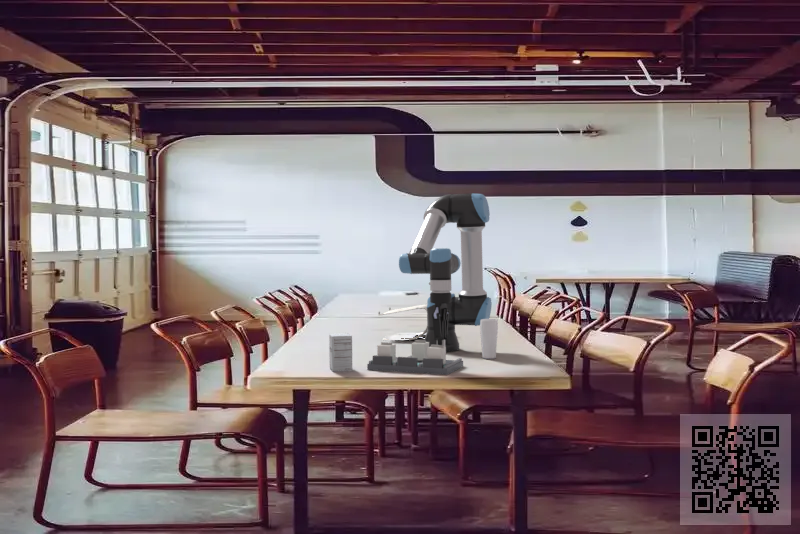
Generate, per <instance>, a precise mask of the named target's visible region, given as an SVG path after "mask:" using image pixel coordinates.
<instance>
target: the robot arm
mask: <svg viewBox="0 0 800 534" xmlns="http://www.w3.org/2000/svg"><path fill="white" fill-rule="evenodd" d="M489 221H490V207H489V203H488V200H487V197H486V196H485V195H484V194H483V193H457V194H456V193H455V194H451V193H450V194H443V196H440V197H438V198H436V199H435V200H434V201H433V202H432V203H430V205H429V206H428V207H427V208H426V209H425V212H424V214H423V222H422V224H421V226H420V228H419V230H418V233H417V235H416V237H415V240H414V241H413V243H412V246H411V248H410V251H409V252H408V253H407V252H406V253H402V254H400V256H399V258H398V268H399V271H400V272H401V273H402V274H409V275H418V274H421V275H423V274H425V275H426V274H427V275H429V283H428V285H429V288H430V289H429V291H430V294H429V297H428V298H427V303H426V304H427V311H426V317H427V318H426V319H427V320H426V321H427V323H426V324H427V325H426V328H427V333H425V336H424V337H425V339H424V340H425V341H426V342H429V347H431V345H442V346H444V347H446V353H447V352H456V351H457V352H458V351H459V350H460V342H459V339H458V336H457V333H456V326H474V327H477V326H479V327H480V320H481V319H491V318H490V317H491V313H492V312H491V311H492V298H491V297H489V296H488V295H487V294H488V293H487V291H486V290H485V289H484V274H483V269H484V267H483V237H482V236H483V229H485V227H486V223H488V222H489ZM451 223H452V224H456V228H457V230H459V231H460V254H461V255H460V256H461V257H460V258H461V259H460V258H459V256H458V255H457V254H455V253H453V252H452V250H451V249H450V248H448V247H446V248H443V247H442V248H434V246H435V243H436V242H437V239H438V237H439V235H440V232H441V230H442V228H444V227H445V226H446V225H447V224H451ZM460 267H461V290H460V291H459V292H458V296H456V293H452V292H451V291H452V275H454V274H455V273H456V272H457V271H459V269H460Z"/></svg>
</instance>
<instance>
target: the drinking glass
mask: <svg viewBox="0 0 800 534" xmlns="http://www.w3.org/2000/svg"><path fill="white" fill-rule="evenodd" d="M498 323H499V322H498V319H497V318H489V319H481V320H480V325H479V331H480V342H481V343H480V345H481V357H482V359H484V360H494V359H496V358H497V344H498V333H499V331H498V329H499V327H498V326H499V325H498Z"/></svg>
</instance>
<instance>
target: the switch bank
mask: <svg viewBox="0 0 800 534" xmlns="http://www.w3.org/2000/svg"><path fill="white" fill-rule="evenodd" d="M366 365H367V366H366V367H367V369H366V370H368V371H369V370H370V371H383V372H400V373H401V372H402V373H413V374H414V373H415V374H416V373H417V374H428V375H429V374H430V375H447V376H448V375H449V374H451V373H453V372H455V371H457V370H458V369H460V368H463V367H464V360H462V358H461V357H459V358H457V359H455V360H453V359H446V364H444V365H443V359H433V358H423V360H417V358H414V357H412V355H409V356H396V361H394V362H392V356H378V355H372V359H370V360H369V361H368V363H367V364H366Z"/></svg>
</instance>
